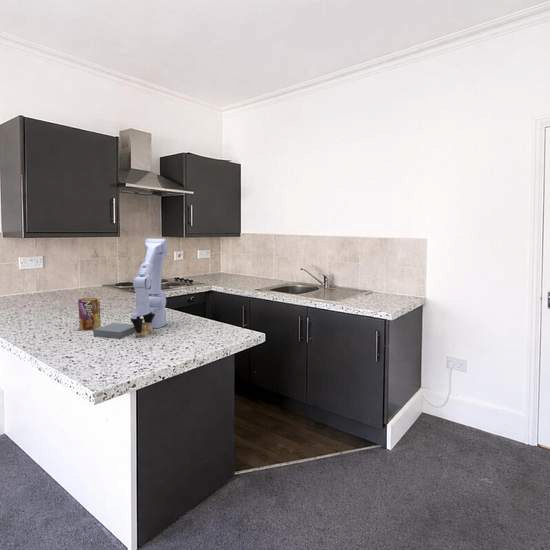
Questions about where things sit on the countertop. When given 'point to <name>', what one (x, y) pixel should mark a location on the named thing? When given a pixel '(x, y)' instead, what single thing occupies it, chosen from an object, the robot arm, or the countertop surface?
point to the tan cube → (145, 329)
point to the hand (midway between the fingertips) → (143, 331)
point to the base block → (114, 330)
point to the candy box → (89, 313)
